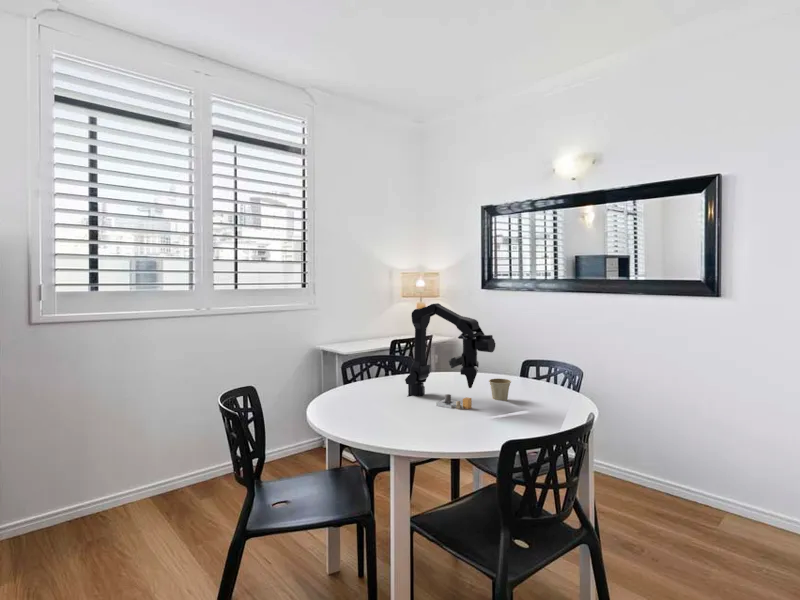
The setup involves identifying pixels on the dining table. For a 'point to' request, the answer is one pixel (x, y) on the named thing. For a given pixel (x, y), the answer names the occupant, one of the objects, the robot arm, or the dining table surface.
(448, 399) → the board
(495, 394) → the flower pot
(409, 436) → the dining table surface
